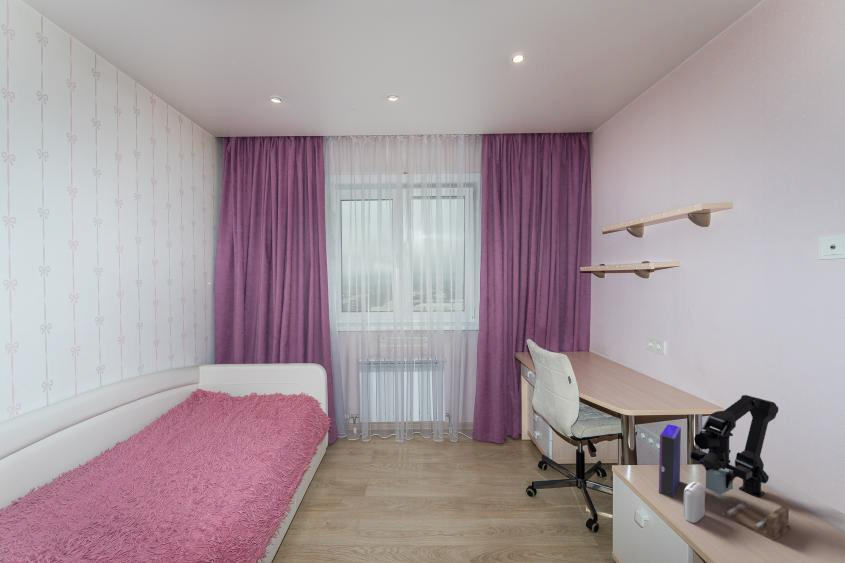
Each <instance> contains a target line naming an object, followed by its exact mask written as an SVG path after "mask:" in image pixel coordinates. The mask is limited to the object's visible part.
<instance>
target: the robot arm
mask: <svg viewBox="0 0 845 563" xmlns="http://www.w3.org/2000/svg"><path fill="white" fill-rule="evenodd" d="M748 413H750V415H751V417H752V418H751V421H750V426H749V430H748V434H747V438H746V442H745V446H744V450H742V451H741V452H739V451H738V452H737V453H736V455H735V460H734V465H732V464H730V463H731V459H730V453H731V451H732V450H731V449H730V437H733V436H734V434H733V433H732V431H733V430H734V429H735V428H736V426H737V425H736V423H737V421H738V420H740V419H741V418H743V417H744V416H745V415H746V414H748ZM778 413H779V406H777V404H776V402H774V401H770V400H767V399H763V398H759V397H755V396H752V395H751V396H750V395H748V394H743V395H741V396H740V399H739V398H738V400H736V401H735V402H734V403H732V404H731V405H730V406H728V407H727V408H726V409H724V410H718V411H714V412H713V413H710V414H709V415H708V417H707V418H706V420H705V422H704V424H703V426H702V428H701V429H702V430H699V433H696V434H695V435H694V437H693V440H694V443H695V445H696V446H697V447H698V448H699V449H696V450H693V451H691V452H690V459H692V460H694V461H697V462H698V463H699V464H700V465H702V466H703V467H704V469H705V472H706V471H707V470H710V469H713V470H719V469H721V468H722V469H728V470H729V472H727V473H726V475H727V480H726V488H729V486H730V485H731V483H732V481H733V482H734V480H735V479H736V478H740V479H742V485H741V486H739V487H738V489H739V491H742V492H745V493H747V494H749V495H752V496H754V497H757V498H760V497H761V496H764V495H765V494H766V493H765V491H763V490H762V483H763V484H767V483H768V481H769V475H768V474H767V472H766V471H765V470H764V466H765V465H764V462H763V459H762V457H761V454H762V450H763V446H764V442H765V438H766V434H767V430H768V426H769V423H770V422H771V421H773V420H774V419H776V417H777V414H778ZM700 449H701V450H700ZM703 450H708V452H706V451H703Z"/></svg>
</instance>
